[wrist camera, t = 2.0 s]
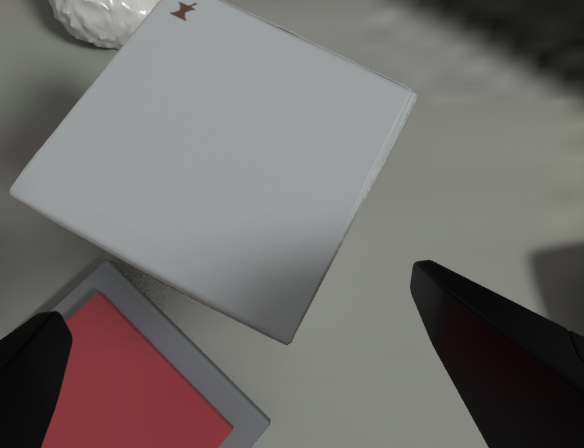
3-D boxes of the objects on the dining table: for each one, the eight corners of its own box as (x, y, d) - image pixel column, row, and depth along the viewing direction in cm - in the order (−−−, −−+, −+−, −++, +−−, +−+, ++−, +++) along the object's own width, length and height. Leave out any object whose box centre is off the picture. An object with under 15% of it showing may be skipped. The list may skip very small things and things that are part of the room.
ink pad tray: (80, 652, 15) (62, 684, 14) (-85, 445, 17) (-116, 456, 16) (270, 419, 18) (270, 427, 17) (112, 261, 20) (100, 257, 18)
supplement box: (162, 270, 20) (-15, 188, 8) (230, 164, 22) (176, -38, 9) (278, 334, 19) (288, 358, 7) (337, 219, 21) (426, 81, 9)
